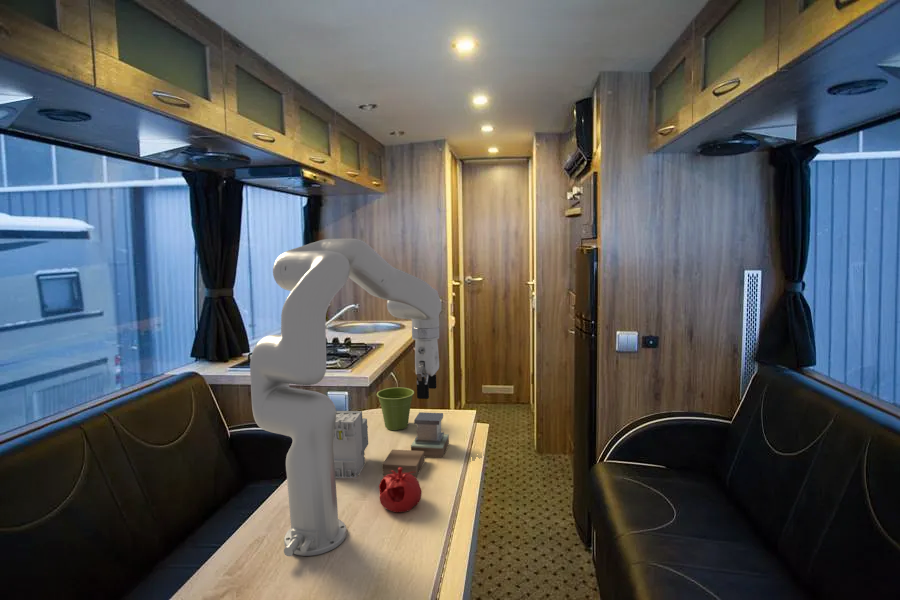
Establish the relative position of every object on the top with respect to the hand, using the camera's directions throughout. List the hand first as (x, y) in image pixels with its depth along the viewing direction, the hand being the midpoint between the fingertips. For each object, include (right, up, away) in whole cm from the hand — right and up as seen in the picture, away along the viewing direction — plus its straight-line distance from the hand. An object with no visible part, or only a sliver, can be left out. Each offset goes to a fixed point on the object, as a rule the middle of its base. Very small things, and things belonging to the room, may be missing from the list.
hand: (427, 393), depth 149 cm
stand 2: (+1, -17, +3) cm, 17 cm away
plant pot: (-11, -15, +21) cm, 28 cm away
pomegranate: (-5, -22, -26) cm, 34 cm away
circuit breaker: (-20, -19, -5) cm, 28 cm away
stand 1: (-6, -19, -8) cm, 21 cm away
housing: (+1, -14, +2) cm, 14 cm away
